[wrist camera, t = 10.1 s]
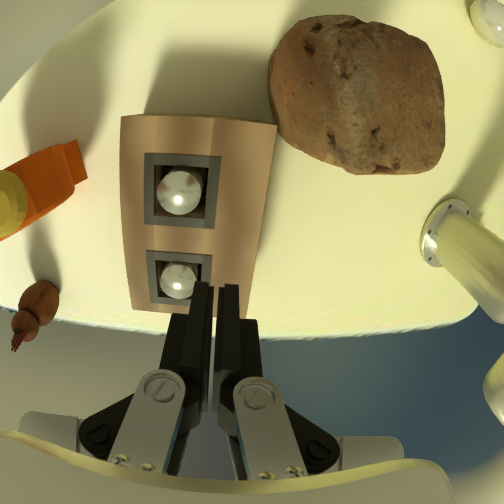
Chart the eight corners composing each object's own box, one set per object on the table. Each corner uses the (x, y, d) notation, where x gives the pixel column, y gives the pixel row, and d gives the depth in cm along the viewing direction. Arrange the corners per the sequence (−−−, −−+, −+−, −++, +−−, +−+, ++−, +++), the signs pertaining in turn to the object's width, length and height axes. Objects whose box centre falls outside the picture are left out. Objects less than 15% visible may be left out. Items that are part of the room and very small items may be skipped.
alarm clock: (31, 206, 29) (-57, 286, 12) (19, 168, 26) (-80, 232, 9) (98, 178, 29) (-5, 265, 12) (86, 133, 26) (-37, 183, 9)
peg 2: (201, 239, 34) (196, 270, 28) (200, 266, 36) (195, 300, 30) (170, 236, 33) (158, 267, 27) (170, 263, 35) (160, 297, 29)
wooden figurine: (57, 276, 35) (14, 342, 22) (68, 303, 38) (33, 370, 25) (30, 274, 35) (-13, 334, 22) (41, 301, 38) (5, 361, 25)
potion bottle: (473, 50, 22) (447, -18, 16) (517, 58, 17) (491, -11, 11) (486, 36, 15) (450, -41, 9) (535, 48, 10) (500, -30, 4)
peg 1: (207, 159, 29) (202, 174, 23) (204, 193, 31) (199, 216, 25) (172, 157, 28) (157, 171, 22) (170, 190, 30) (157, 213, 24)
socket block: (266, 121, 28) (277, 125, 22) (242, 284, 39) (245, 319, 32) (143, 113, 26) (120, 116, 20) (144, 276, 37) (132, 309, 31)
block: (335, 134, 29) (454, 182, 12) (274, 143, 29) (342, 200, 12) (320, 48, 24) (432, 0, 6) (255, 54, 24) (301, -23, 7)
